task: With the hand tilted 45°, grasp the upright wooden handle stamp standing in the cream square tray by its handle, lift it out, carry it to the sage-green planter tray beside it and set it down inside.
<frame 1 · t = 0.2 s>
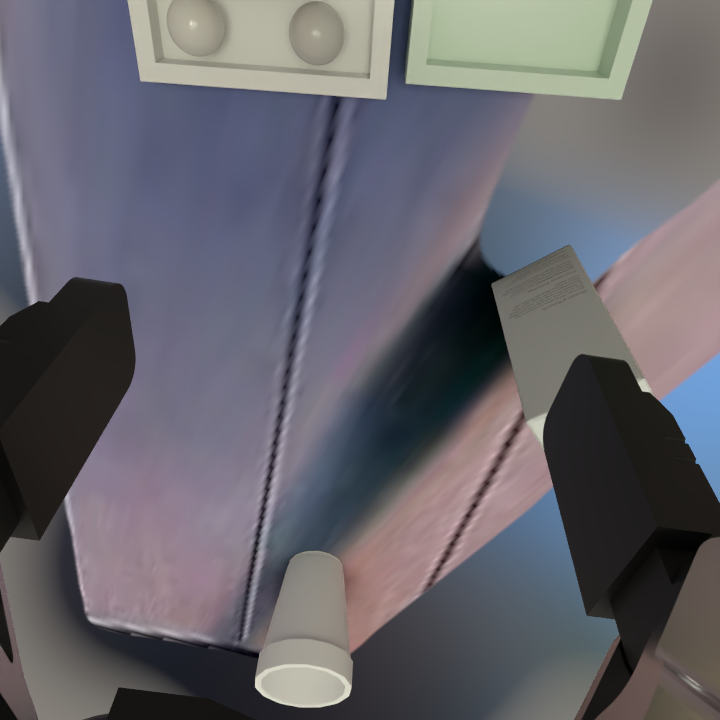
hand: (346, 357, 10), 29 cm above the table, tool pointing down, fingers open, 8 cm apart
pebble 1: (196, 24, 30), point 2 cm above the table, touching cream square tray
skincare box: (545, 301, 43), on the table
foam cup: (316, 565, 65), on the table
pebble 2: (317, 34, 30), point 2 cm above the table, touching cream square tray
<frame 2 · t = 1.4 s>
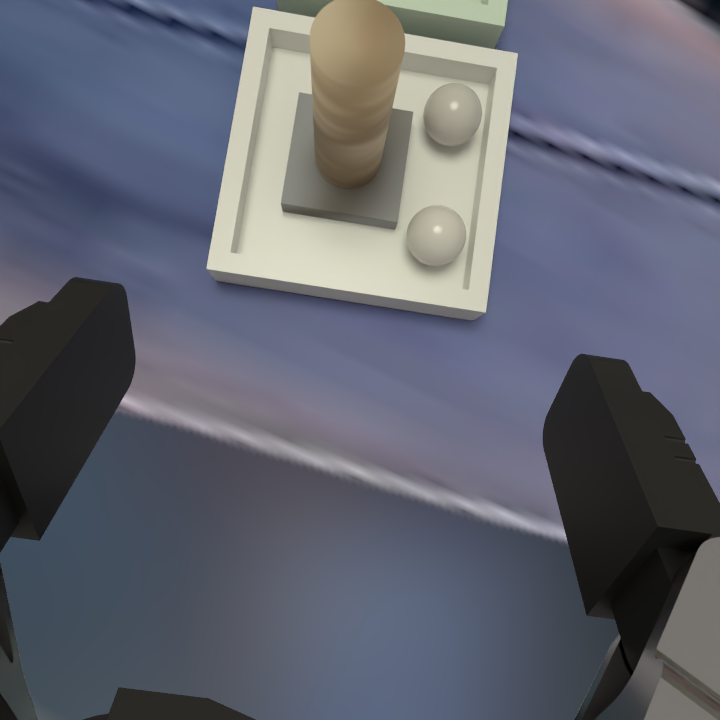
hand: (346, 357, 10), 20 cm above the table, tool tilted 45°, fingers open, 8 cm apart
pebble 1: (436, 235, 28), point 2 cm above the table, touching cream square tray
pebble 2: (452, 115, 29), point 2 cm above the table, touching cream square tray
cream square tray: (364, 177, 31), on the table
wooden handle stamp: (347, 167, 30), point 1 cm above the table, touching cream square tray
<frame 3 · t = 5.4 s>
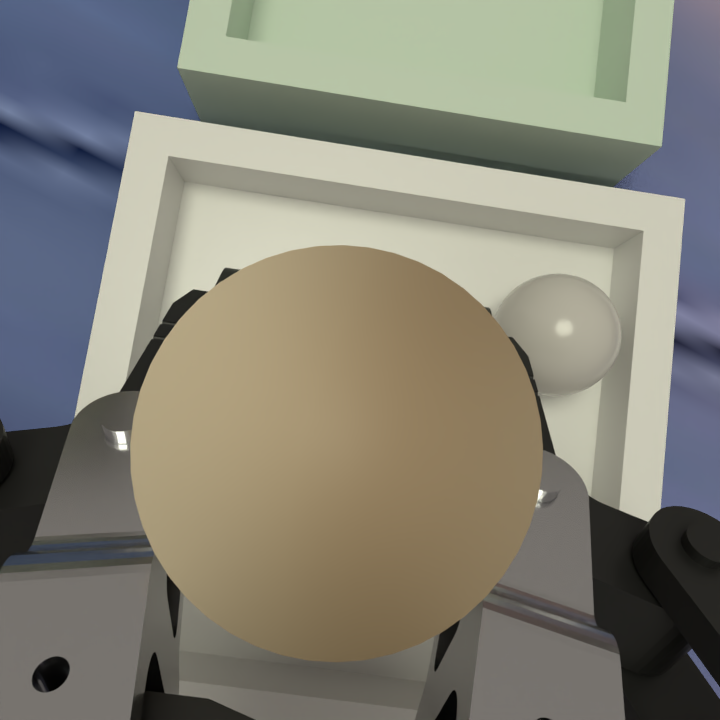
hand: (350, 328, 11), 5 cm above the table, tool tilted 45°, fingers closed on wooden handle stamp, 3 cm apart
pebble 2: (554, 335, 14), point 2 cm above the table, touching cream square tray
cream square tray: (369, 432, 16), on the table
wooden handle stamp: (334, 427, 15), point 1 cm above the table, touching cream square tray, gripper
when the fingers open (7 cm above the table, at t = 10.9 s): wooden handle stamp drops 1 cm, resting on planter tray.
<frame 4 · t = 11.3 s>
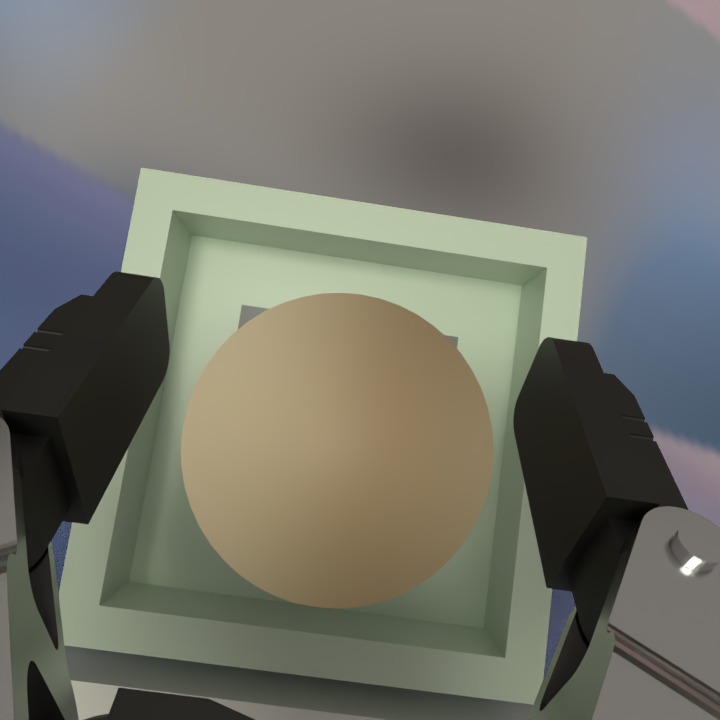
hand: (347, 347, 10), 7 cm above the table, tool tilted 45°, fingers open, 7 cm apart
planter tray: (334, 426, 17), on the table
wooden handle stamp: (334, 429, 16), point 1 cm above the table, touching planter tray
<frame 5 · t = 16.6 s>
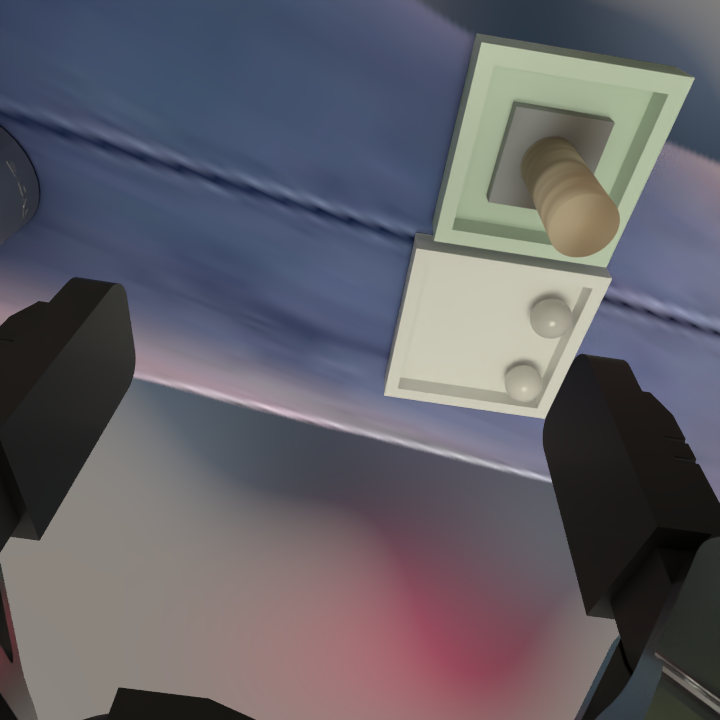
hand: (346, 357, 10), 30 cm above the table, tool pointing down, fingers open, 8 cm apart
pebble 1: (523, 383, 46), point 2 cm above the table, touching cream square tray
planter tray: (541, 151, 37), on the table
pebble 2: (550, 318, 42), point 2 cm above the table, touching cream square tray
cream square tray: (483, 324, 46), on the table
wooden handle stamp: (544, 157, 36), point 1 cm above the table, touching planter tray
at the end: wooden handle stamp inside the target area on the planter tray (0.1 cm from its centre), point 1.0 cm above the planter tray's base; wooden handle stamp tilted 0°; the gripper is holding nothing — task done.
